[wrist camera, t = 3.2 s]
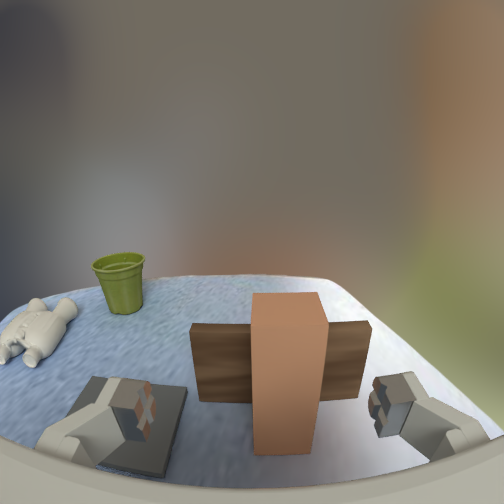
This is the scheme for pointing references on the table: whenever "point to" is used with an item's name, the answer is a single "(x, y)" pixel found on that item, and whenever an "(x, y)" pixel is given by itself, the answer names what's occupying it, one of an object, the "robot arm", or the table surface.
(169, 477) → the table surface
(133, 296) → the plant pot
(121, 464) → the slate pad
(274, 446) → the marked block
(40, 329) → the binoculars
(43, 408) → the table surface
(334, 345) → the low board
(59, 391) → the table surface
